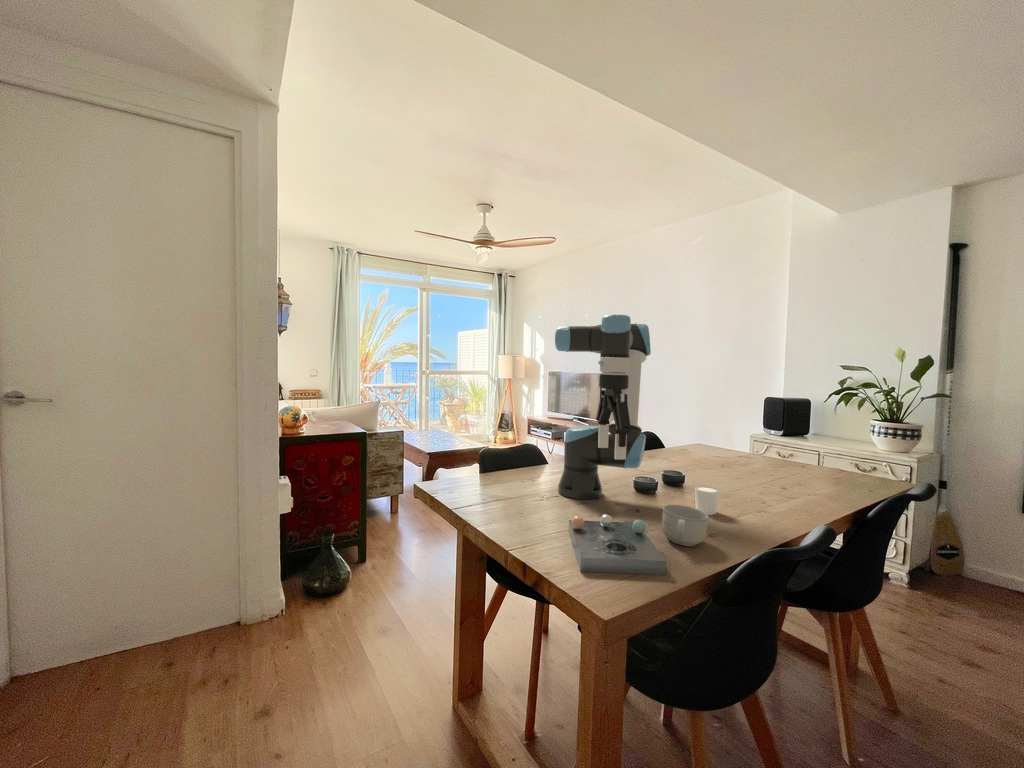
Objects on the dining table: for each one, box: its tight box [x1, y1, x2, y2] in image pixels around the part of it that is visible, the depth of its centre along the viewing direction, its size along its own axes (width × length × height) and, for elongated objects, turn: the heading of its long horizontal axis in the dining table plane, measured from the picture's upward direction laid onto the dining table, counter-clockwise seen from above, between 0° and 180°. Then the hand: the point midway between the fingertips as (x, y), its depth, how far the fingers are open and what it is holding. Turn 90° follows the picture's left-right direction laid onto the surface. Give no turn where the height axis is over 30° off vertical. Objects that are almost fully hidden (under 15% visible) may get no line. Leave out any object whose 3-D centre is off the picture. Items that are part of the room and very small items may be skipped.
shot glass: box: [694, 486, 720, 516], centre depth 130 cm, size 7×7×7 cm
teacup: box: [661, 504, 710, 547], centre depth 105 cm, size 14×11×8 cm
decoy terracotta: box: [571, 515, 585, 529], centre depth 105 cm, size 3×3×3 cm
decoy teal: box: [632, 519, 647, 533], centre depth 104 cm, size 3×3×3 cm
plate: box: [568, 519, 667, 576], centre depth 100 cm, size 22×18×3 cm
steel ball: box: [599, 513, 614, 528], centre depth 107 cm, size 3×3×3 cm
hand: (611, 453), depth 112 cm, fingers open, 13 cm apart
